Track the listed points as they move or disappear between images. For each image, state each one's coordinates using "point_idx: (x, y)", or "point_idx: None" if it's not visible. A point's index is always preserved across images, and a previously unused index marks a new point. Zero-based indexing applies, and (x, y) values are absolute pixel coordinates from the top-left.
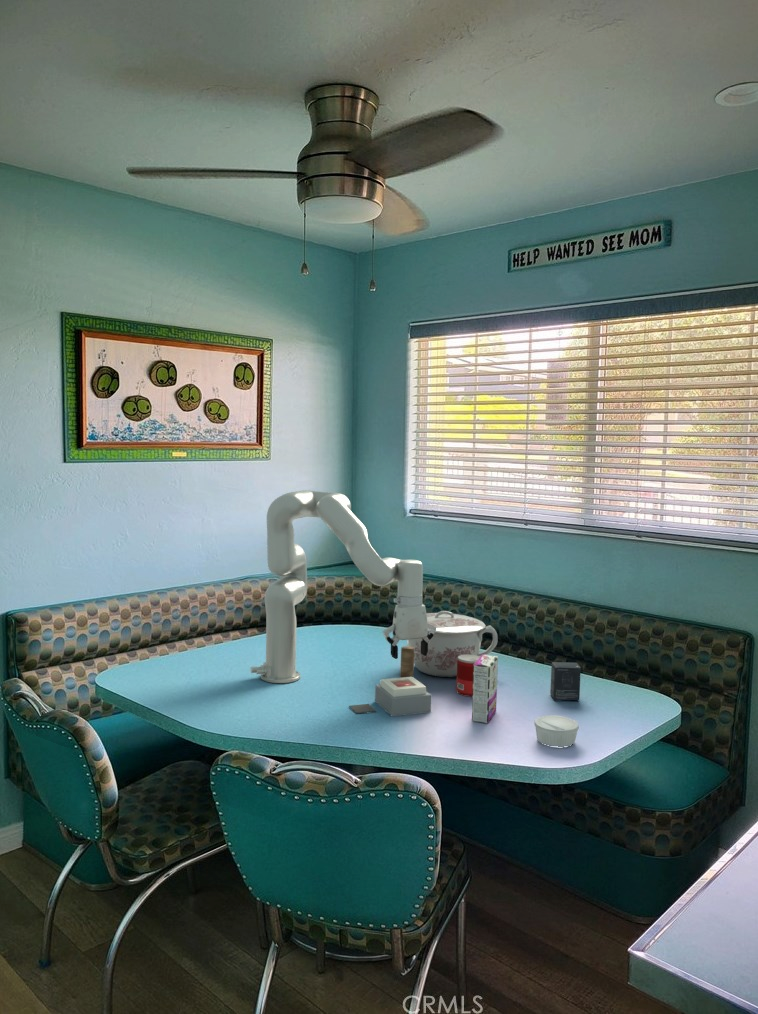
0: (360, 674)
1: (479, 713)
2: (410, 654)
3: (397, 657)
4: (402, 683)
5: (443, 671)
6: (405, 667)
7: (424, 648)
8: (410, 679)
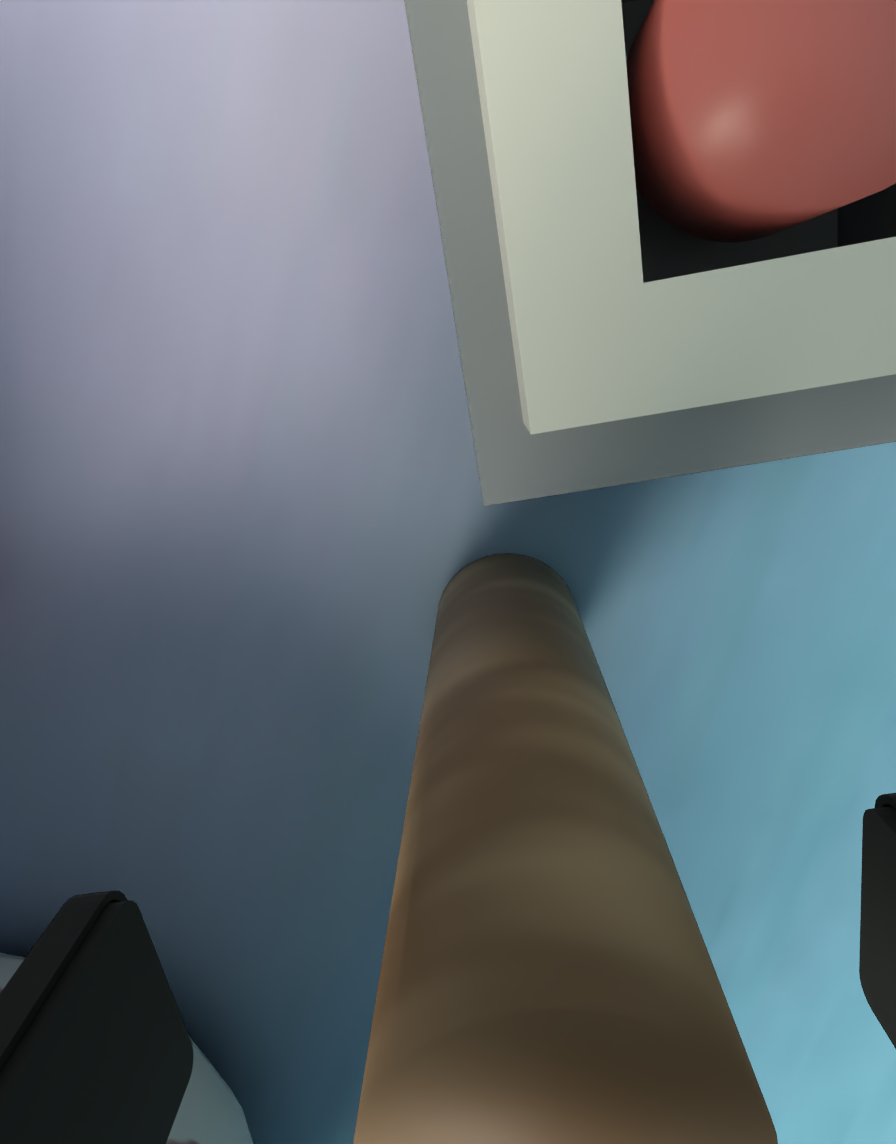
0: (773, 1123)
1: None
2: (517, 886)
3: (889, 816)
4: (848, 32)
5: (9, 979)
6: (586, 716)
7: (29, 1082)
8: (612, 254)
